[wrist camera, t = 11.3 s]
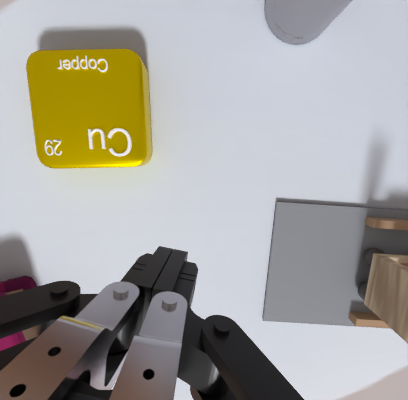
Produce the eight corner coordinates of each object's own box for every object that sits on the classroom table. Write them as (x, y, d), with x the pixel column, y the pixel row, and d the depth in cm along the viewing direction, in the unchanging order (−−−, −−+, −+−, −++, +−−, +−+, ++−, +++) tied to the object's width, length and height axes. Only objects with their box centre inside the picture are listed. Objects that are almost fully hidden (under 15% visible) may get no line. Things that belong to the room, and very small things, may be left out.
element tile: (148, 60, 36) (140, 45, 31) (153, 165, 39) (146, 166, 34) (43, 62, 36) (19, 47, 31) (55, 167, 39) (35, 169, 34)
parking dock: (262, 318, 42) (267, 333, 39) (276, 201, 39) (283, 205, 36) (427, 328, 43) (447, 343, 39) (454, 213, 39) (478, 218, 36)
